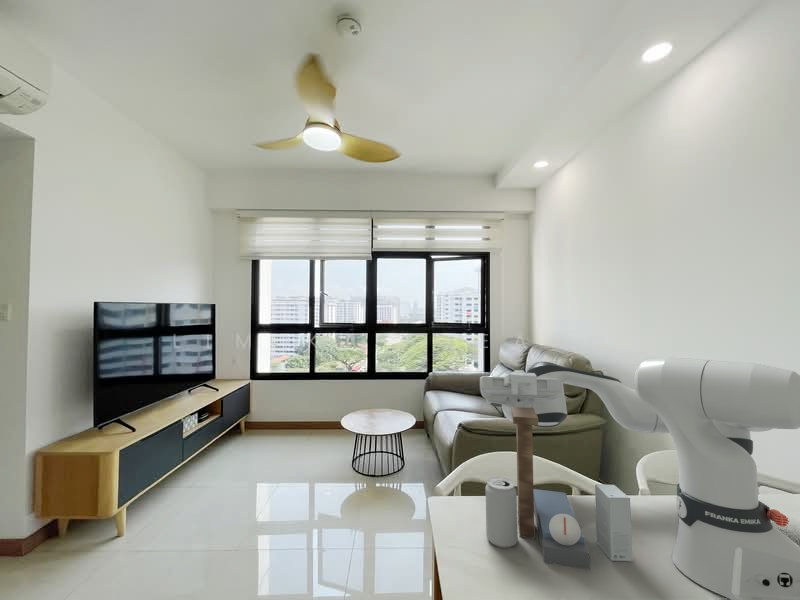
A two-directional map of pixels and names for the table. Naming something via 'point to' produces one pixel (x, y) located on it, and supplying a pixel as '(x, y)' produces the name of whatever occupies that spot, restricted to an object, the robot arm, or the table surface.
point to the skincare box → (613, 522)
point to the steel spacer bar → (523, 383)
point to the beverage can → (501, 512)
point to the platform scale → (559, 530)
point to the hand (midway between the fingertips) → (520, 376)
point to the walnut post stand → (525, 468)
